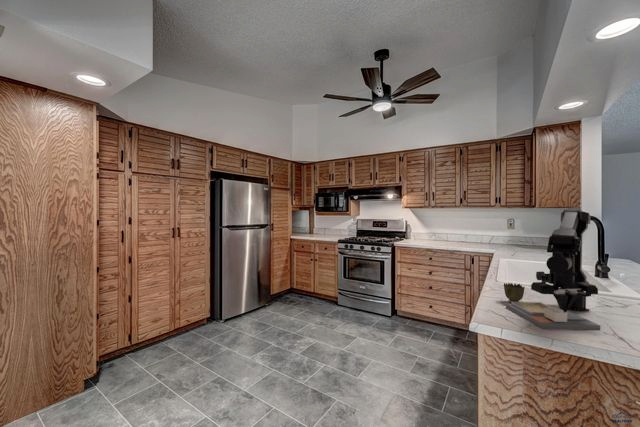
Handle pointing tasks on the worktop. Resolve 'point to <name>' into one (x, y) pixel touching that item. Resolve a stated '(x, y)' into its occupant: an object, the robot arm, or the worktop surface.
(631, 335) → the worktop surface
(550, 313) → the breaker switch
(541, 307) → the lockout tray
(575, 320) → the grey flat square slab
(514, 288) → the cup
